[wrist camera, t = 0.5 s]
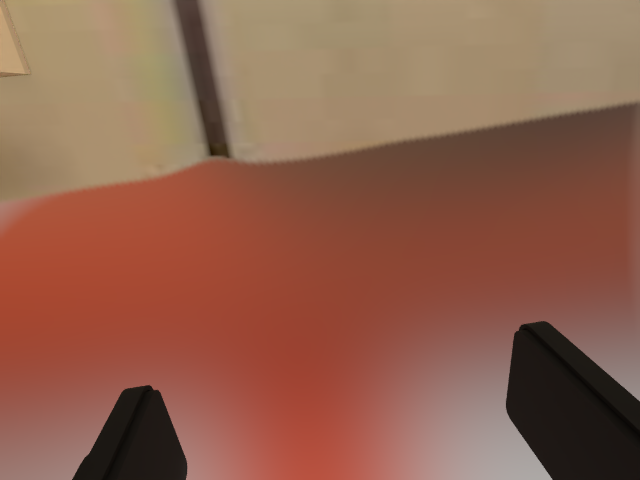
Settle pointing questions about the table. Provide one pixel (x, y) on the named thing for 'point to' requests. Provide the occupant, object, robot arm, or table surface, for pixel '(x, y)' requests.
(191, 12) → the table surface
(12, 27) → the carton
